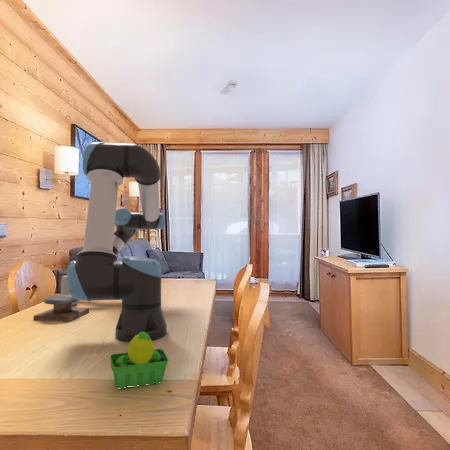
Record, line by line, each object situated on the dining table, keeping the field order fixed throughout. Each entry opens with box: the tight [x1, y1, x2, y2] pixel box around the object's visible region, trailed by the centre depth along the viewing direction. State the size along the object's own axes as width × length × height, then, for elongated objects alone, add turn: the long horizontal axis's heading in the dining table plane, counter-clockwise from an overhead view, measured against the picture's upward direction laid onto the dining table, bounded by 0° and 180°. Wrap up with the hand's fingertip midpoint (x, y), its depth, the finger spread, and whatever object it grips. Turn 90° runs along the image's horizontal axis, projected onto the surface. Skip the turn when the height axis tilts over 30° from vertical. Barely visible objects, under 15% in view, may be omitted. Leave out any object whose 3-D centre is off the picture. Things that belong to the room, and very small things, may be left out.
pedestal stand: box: [33, 294, 90, 323], centre depth 120 cm, size 13×13×6 cm
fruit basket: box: [109, 332, 169, 389], centre depth 69 cm, size 11×9×11 cm
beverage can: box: [60, 275, 79, 306], centre depth 137 cm, size 6×6×12 cm
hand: (78, 283), depth 140 cm, fingers open, 13 cm apart
